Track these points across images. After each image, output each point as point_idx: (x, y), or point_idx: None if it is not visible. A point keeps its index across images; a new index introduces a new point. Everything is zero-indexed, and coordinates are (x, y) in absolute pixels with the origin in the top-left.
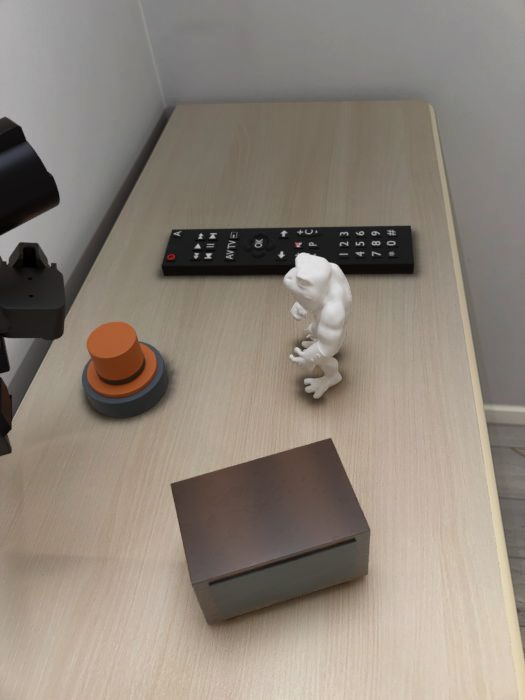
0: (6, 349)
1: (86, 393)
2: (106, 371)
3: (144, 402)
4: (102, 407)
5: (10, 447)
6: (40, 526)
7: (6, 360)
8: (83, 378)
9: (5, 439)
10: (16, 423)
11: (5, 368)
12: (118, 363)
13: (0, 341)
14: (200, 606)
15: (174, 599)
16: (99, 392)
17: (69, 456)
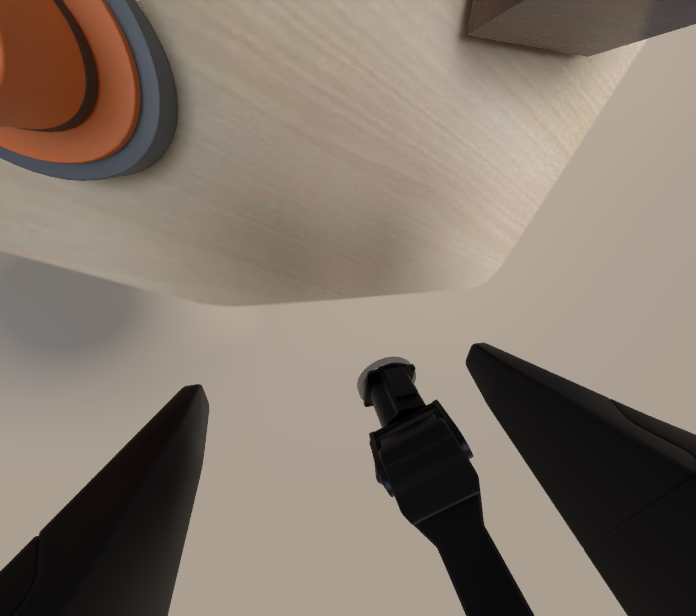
0: (127, 446)
1: (120, 174)
2: (59, 84)
3: (145, 24)
4: (159, 145)
5: (501, 351)
6: (354, 262)
7: (183, 422)
8: (69, 175)
9: (584, 387)
10: (177, 297)
11: (199, 401)
12: (18, 8)
13: (117, 535)
14: (663, 33)
15: (515, 102)
16: (125, 138)
17: (256, 222)
